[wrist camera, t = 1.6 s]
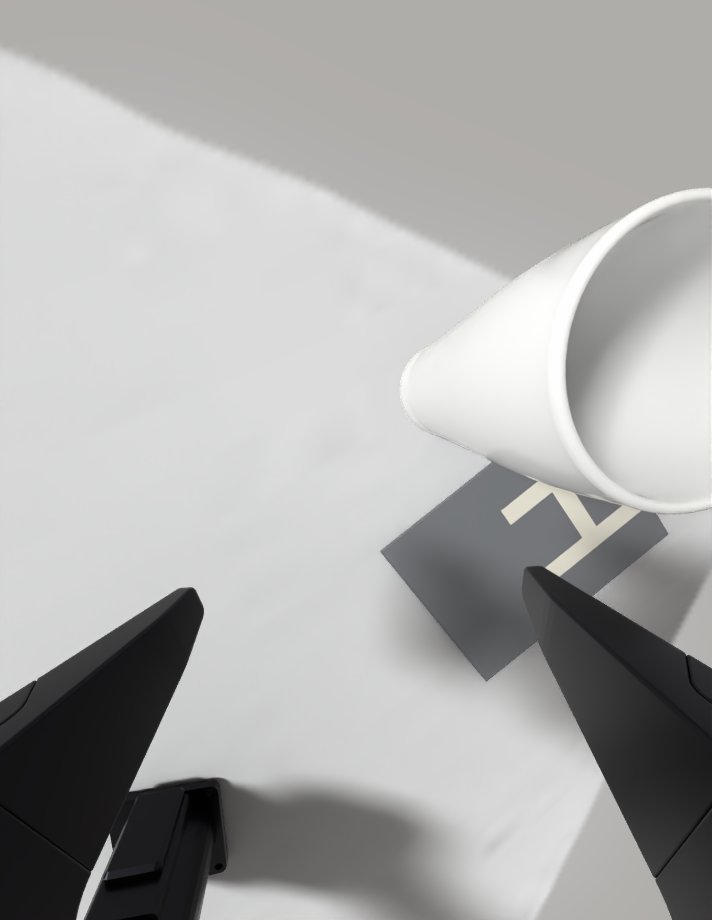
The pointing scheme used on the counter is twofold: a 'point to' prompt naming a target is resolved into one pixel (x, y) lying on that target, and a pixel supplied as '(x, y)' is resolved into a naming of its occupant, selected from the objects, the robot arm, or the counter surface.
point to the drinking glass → (590, 365)
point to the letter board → (512, 556)
